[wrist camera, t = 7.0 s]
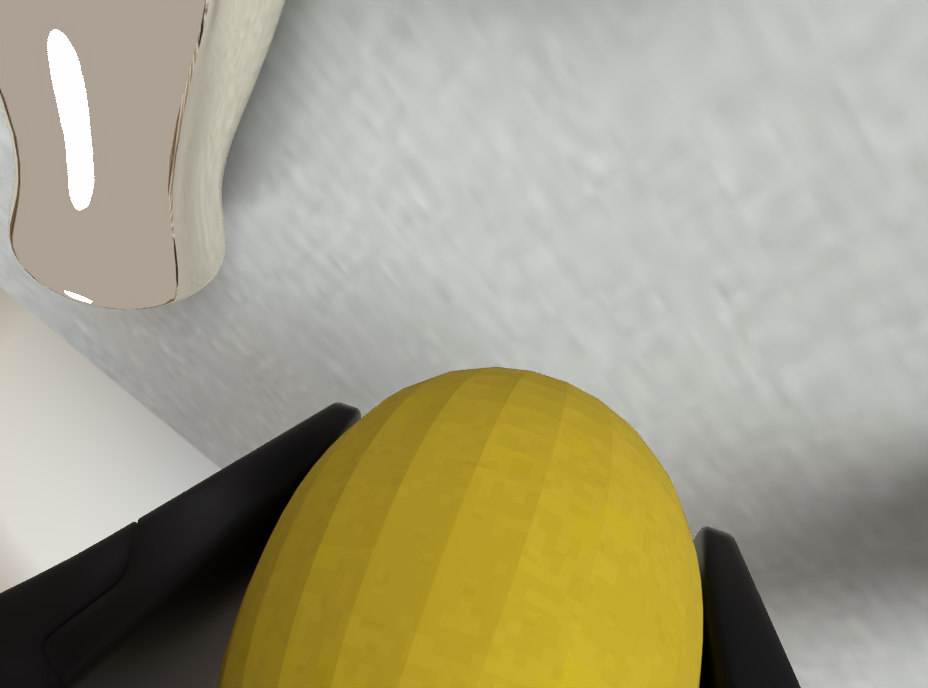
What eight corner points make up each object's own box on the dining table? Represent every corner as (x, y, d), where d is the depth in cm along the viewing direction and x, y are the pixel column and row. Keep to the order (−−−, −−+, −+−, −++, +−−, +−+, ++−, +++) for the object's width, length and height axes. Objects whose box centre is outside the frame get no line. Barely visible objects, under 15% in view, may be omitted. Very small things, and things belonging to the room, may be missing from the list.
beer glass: (53, 355, 17) (-58, -497, 6) (-50, 184, 19) (-272, -698, 8) (277, 285, 21) (431, -278, 11) (176, 153, 23) (223, -438, 13)
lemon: (346, 333, 12) (-55, 837, 6) (611, 207, 8) (320, 1056, 3) (505, 522, 14) (328, 1042, 8) (769, 479, 10) (809, 1311, 5)
